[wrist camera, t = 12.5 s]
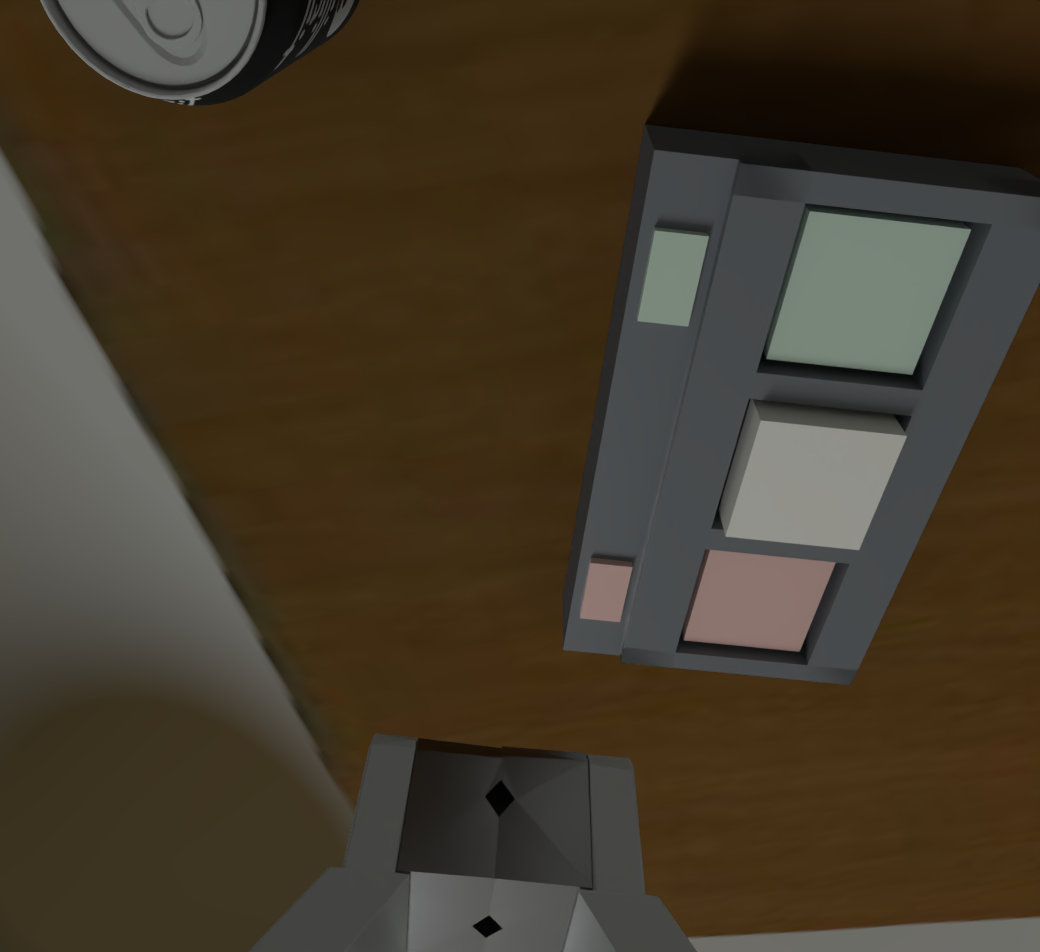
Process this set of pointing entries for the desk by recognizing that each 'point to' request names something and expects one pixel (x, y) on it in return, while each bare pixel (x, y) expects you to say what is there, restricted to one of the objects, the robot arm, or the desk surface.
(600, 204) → the desk surface
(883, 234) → the sage key
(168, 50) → the beverage can
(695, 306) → the keypad
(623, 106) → the desk surface
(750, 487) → the ivory key
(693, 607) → the rose key
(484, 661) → the desk surface
